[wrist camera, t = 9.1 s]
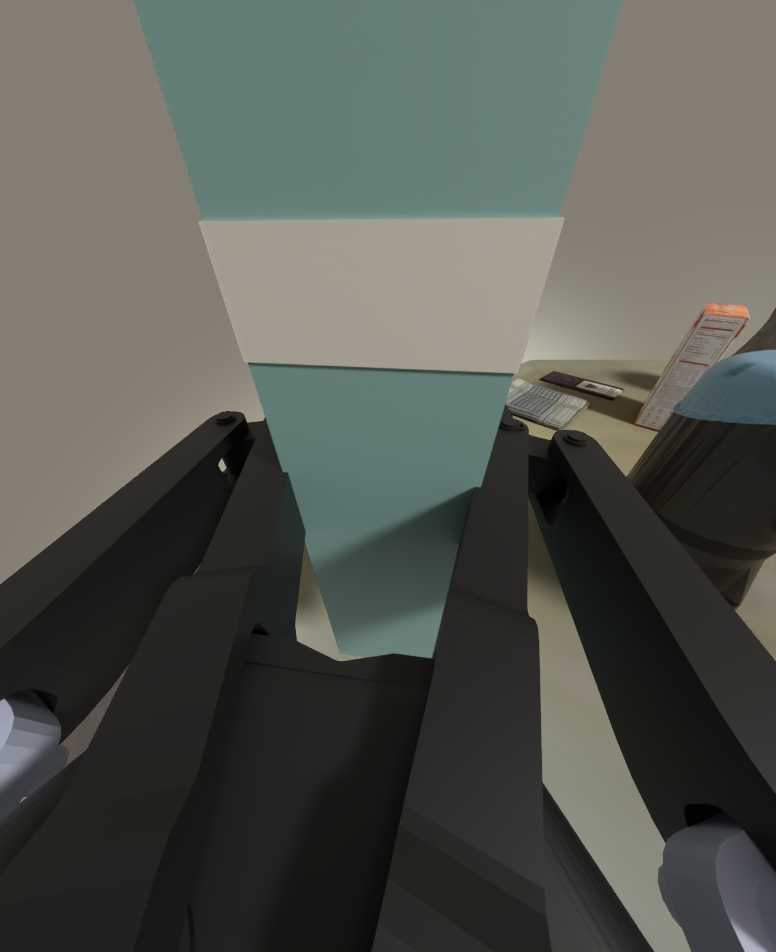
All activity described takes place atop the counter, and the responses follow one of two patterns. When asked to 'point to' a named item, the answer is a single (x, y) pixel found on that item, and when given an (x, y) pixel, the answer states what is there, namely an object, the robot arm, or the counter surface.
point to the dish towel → (544, 404)
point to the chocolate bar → (583, 385)
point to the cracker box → (692, 360)
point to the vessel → (762, 338)
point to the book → (381, 251)
